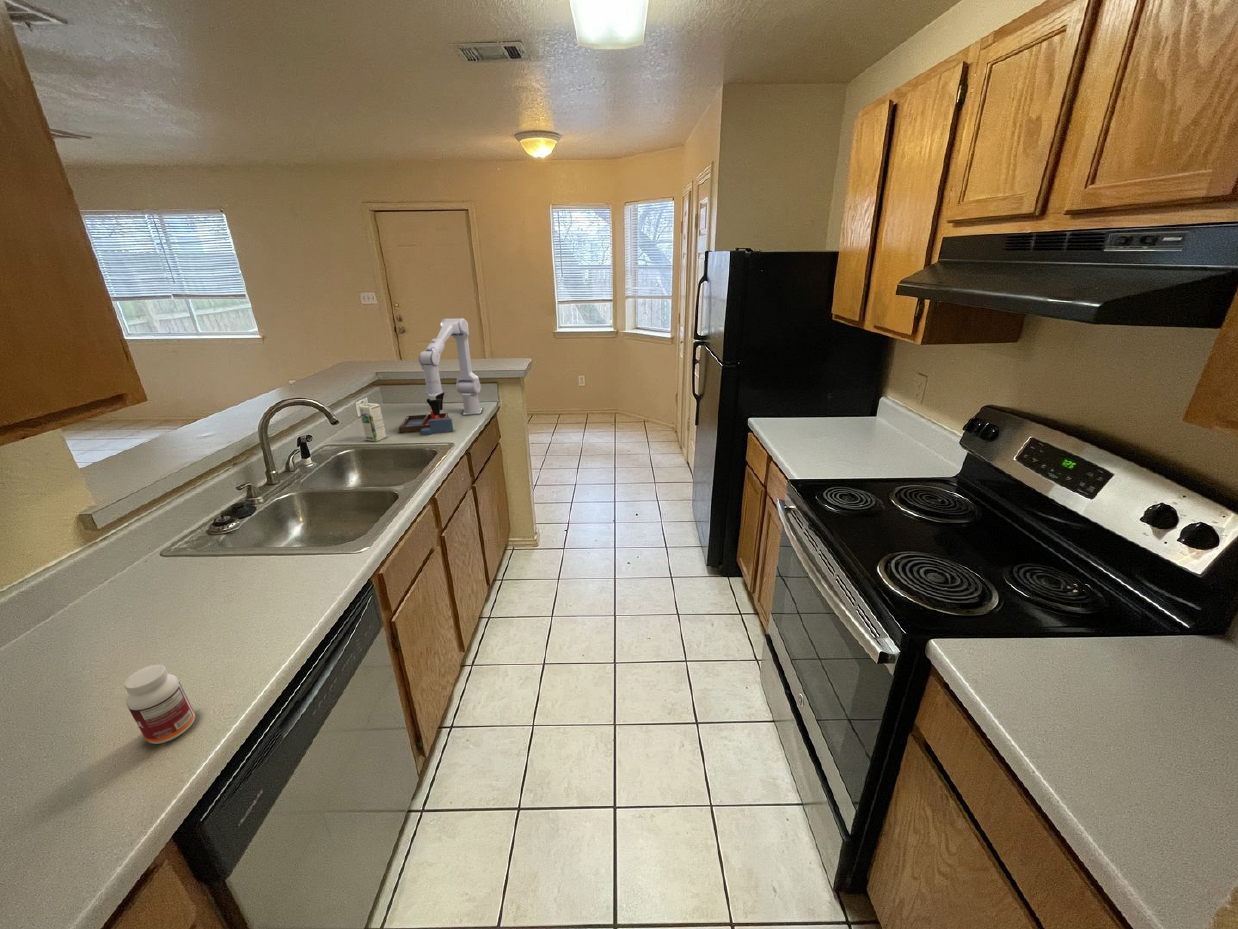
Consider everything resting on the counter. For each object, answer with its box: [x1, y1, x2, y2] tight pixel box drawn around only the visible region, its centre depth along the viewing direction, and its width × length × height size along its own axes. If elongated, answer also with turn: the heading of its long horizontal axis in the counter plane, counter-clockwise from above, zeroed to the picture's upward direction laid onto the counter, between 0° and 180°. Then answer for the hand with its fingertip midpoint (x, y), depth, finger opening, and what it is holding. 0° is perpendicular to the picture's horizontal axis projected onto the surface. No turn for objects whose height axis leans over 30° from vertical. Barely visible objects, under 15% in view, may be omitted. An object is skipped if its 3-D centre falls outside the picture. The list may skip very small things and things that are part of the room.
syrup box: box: [358, 402, 387, 442], centre depth 206 cm, size 6×6×14 cm
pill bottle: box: [123, 664, 196, 745], centre depth 78 cm, size 6×6×11 cm
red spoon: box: [428, 409, 439, 425], centre depth 224 cm, size 13×4×6 cm, turn 10°
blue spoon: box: [420, 417, 454, 436], centre depth 213 cm, size 13×4×6 cm, turn 100°
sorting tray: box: [398, 412, 450, 434], centre depth 224 cm, size 17×18×2 cm
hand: (438, 412), depth 213 cm, fingers open, 7 cm apart
